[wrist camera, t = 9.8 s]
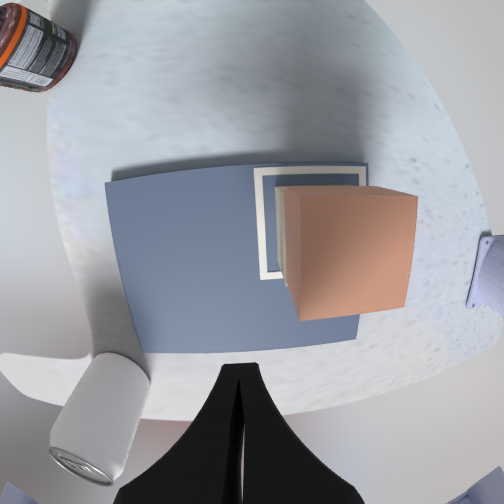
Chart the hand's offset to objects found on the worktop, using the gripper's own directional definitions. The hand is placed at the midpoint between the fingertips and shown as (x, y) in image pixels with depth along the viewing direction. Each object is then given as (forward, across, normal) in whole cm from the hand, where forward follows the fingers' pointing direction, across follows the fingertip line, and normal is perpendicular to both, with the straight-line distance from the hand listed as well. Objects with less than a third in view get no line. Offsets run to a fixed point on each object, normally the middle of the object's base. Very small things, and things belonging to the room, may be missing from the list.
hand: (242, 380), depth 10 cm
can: (+11, +13, +10) cm, 20 cm away
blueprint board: (+10, 0, -1) cm, 10 cm away
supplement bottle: (+11, +15, -20) cm, 27 cm away
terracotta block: (+5, -5, -4) cm, 9 cm away
